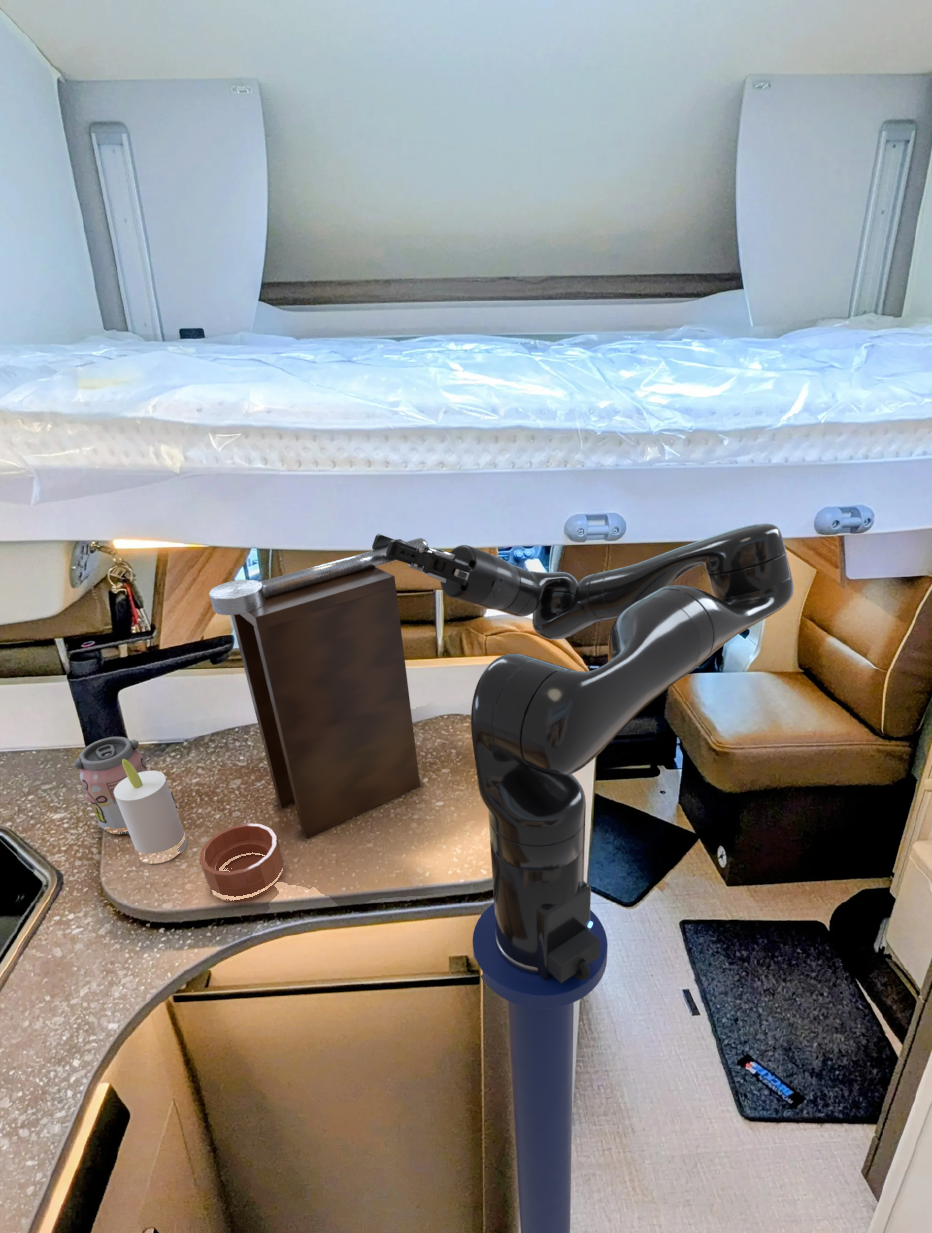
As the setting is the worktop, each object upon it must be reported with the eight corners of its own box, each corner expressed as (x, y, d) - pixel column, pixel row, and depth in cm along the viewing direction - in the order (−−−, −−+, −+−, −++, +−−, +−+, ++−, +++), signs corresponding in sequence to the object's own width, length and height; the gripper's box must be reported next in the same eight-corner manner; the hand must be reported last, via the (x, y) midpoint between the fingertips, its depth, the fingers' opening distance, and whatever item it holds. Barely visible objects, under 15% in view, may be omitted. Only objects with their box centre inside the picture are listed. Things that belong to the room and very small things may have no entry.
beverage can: (94, 813, 103) (65, 744, 97) (153, 790, 107) (128, 723, 101) (106, 846, 96) (76, 774, 90) (169, 821, 100) (144, 750, 94)
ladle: (415, 546, 96) (413, 532, 95) (439, 556, 92) (438, 541, 91) (206, 605, 83) (202, 589, 82) (223, 619, 78) (218, 603, 77)
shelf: (386, 756, 110) (356, 557, 94) (420, 786, 102) (394, 575, 86) (277, 803, 101) (225, 593, 85) (306, 839, 94) (255, 617, 78)
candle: (198, 842, 95) (167, 749, 88) (155, 871, 91) (119, 776, 83) (170, 826, 99) (139, 736, 91) (128, 853, 94) (91, 761, 87)
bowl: (296, 882, 87) (288, 851, 85) (224, 917, 83) (213, 886, 80) (268, 843, 94) (260, 813, 91) (200, 874, 90) (190, 844, 87)
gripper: (461, 543, 105) (365, 506, 94) (521, 565, 95) (421, 526, 84) (443, 591, 107) (347, 560, 95) (501, 617, 96) (400, 586, 85)
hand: (382, 545), depth 90 cm, fingers open, 3 cm apart
